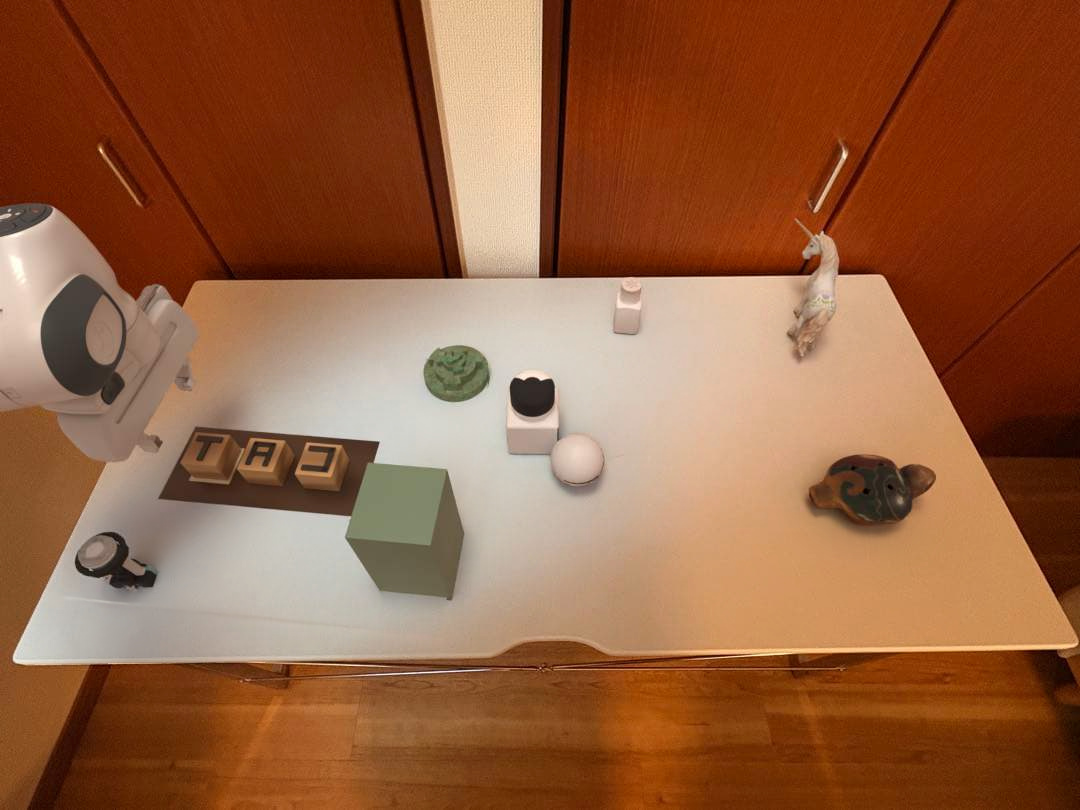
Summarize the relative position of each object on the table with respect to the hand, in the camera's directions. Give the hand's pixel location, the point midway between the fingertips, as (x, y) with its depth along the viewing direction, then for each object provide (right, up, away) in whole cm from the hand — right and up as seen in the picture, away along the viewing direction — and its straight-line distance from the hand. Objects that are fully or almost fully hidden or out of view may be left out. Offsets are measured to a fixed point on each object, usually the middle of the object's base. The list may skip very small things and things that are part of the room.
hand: (172, 416), depth 77 cm
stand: (+31, -19, +2) cm, 36 cm away
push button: (-5, -21, +1) cm, 22 cm away
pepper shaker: (+60, +15, +26) cm, 67 cm away
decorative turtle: (+89, -12, +7) cm, 90 cm away
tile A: (+8, -8, +10) cm, 15 cm away
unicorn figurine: (+88, +16, +27) cm, 93 cm away
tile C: (+16, -8, +9) cm, 20 cm away
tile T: (0, -7, +10) cm, 12 cm away
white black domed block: (+45, -3, +14) cm, 47 cm away
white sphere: (+52, -8, +10) cm, 54 cm away
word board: (+8, -8, +10) cm, 16 cm away
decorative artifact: (+33, +5, +20) cm, 39 cm away
